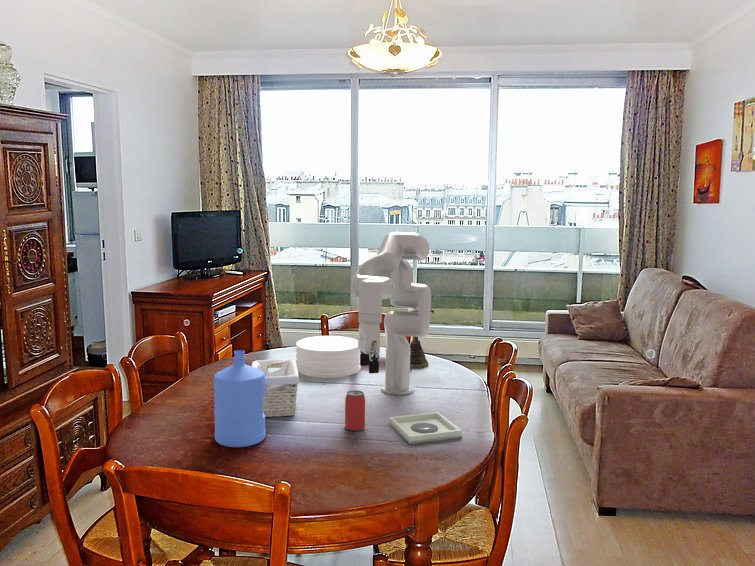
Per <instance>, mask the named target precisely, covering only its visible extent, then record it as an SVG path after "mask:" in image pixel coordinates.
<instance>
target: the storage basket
mask: <svg viewBox="0 0 755 566" xmlns="http://www.w3.org/2000/svg"><path fill="white" fill-rule="evenodd" d="M251 366H252V367H254V368H257V369H260V370H262V371H263V372H264V374H265V395H264V396H263V413H264V415H265V418H268V417H269V418H271V417H272V418H273V417H287V416H290V417H293V416H294V415H296V411H297V406H296V405H297V392H298V387H299V375H300V373H299V372H298V370H297V366H296V360H295V359H292V358H291V359H284V358H283V359H264V360H263V359H260V360H259V359H258V360H254V361H252V363H251ZM269 368H270V369H273V368H274V369H275V368H277V370H274V371H272V372H269Z"/></svg>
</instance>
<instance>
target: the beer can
mask: <svg viewBox="0 0 755 566" xmlns="http://www.w3.org/2000/svg"><path fill="white" fill-rule="evenodd" d="M344 403H345V405H344V409H345V410H344V428H345V429H346V430H348V431H352V432H359V431H362V430H364V428H366V397H365V393H364V392H363V391H362V390H355V389H354V390H349V391H348V392H346V396H345V401H344Z"/></svg>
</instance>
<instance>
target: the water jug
mask: <svg viewBox="0 0 755 566" xmlns="http://www.w3.org/2000/svg"><path fill="white" fill-rule="evenodd" d="M233 353H234V356H233V359H234V363H232V364H231V365H230V366H227V367H226V368H223V369H221V370H218V371H217V372H216V373H215V374H214V375H213V392H214V393H213V394H214V396H213V397H214V407H213V411H214V440H215V442H216V443H218V444H219V445H220V446H224V447H228V448H245V447H251V446H253V445H254V446H255V445H257V444H259V443H261V442H262V441H263V440H265V438H266V436H267V435H266V433H267V431H266V417H265V415H264V413H263V396H264V395H265V374H264V372H263V371H262V370H260V369H257V368H254V367H252V365H249V364H246V363H245V353H246V351H245V350H243V349H241V350H239V349H238V350H234V351H233Z"/></svg>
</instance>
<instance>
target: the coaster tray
mask: <svg viewBox="0 0 755 566" xmlns="http://www.w3.org/2000/svg"><path fill="white" fill-rule="evenodd" d="M388 425H389V426H390V427H392V429H393V430H394V431H395V432H396V433H398V434H399V436H400V437H402V439H404V440H405V442H406V443H408V444H409V445H416V444H422V443H429V442H436V441H437V442H439V441H445V440H454V439H460V438H463V437H462V436H463V430H462V429H461V428H460V427H458V425H456V424H455V423H453V422H452V421H450V420H449V419H448V418H447V417H445V416H444V415H443V414H441V413H440V412H439V411H432V412H425V413H416V414H414V413H413V414H406V415H397V416H388Z"/></svg>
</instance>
